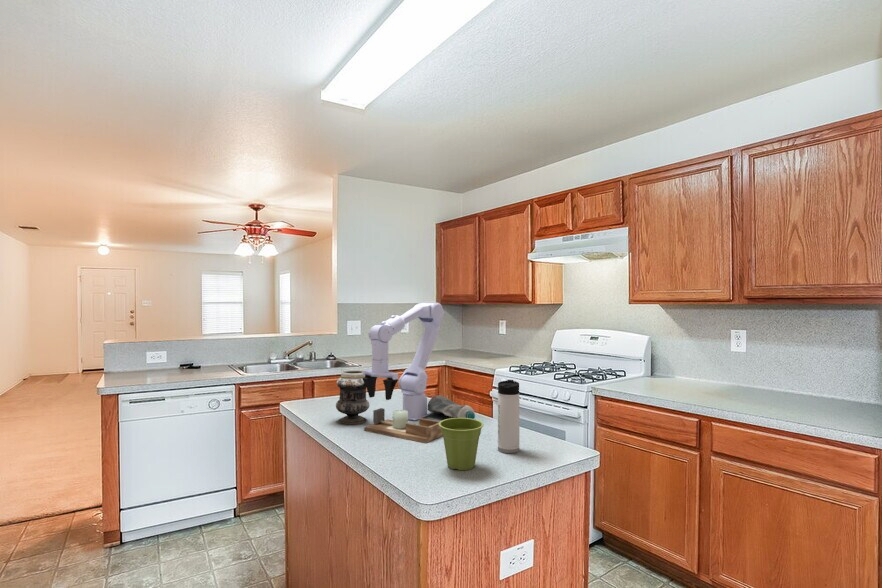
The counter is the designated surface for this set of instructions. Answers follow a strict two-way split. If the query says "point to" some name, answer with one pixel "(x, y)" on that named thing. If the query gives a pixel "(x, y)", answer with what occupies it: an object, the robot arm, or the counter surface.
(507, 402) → the travel mug
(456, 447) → the plant pot
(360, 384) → the dark footed vase
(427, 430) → the shelf lane
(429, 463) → the counter surface
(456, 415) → the detergent
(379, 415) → the grey-headed mallet
